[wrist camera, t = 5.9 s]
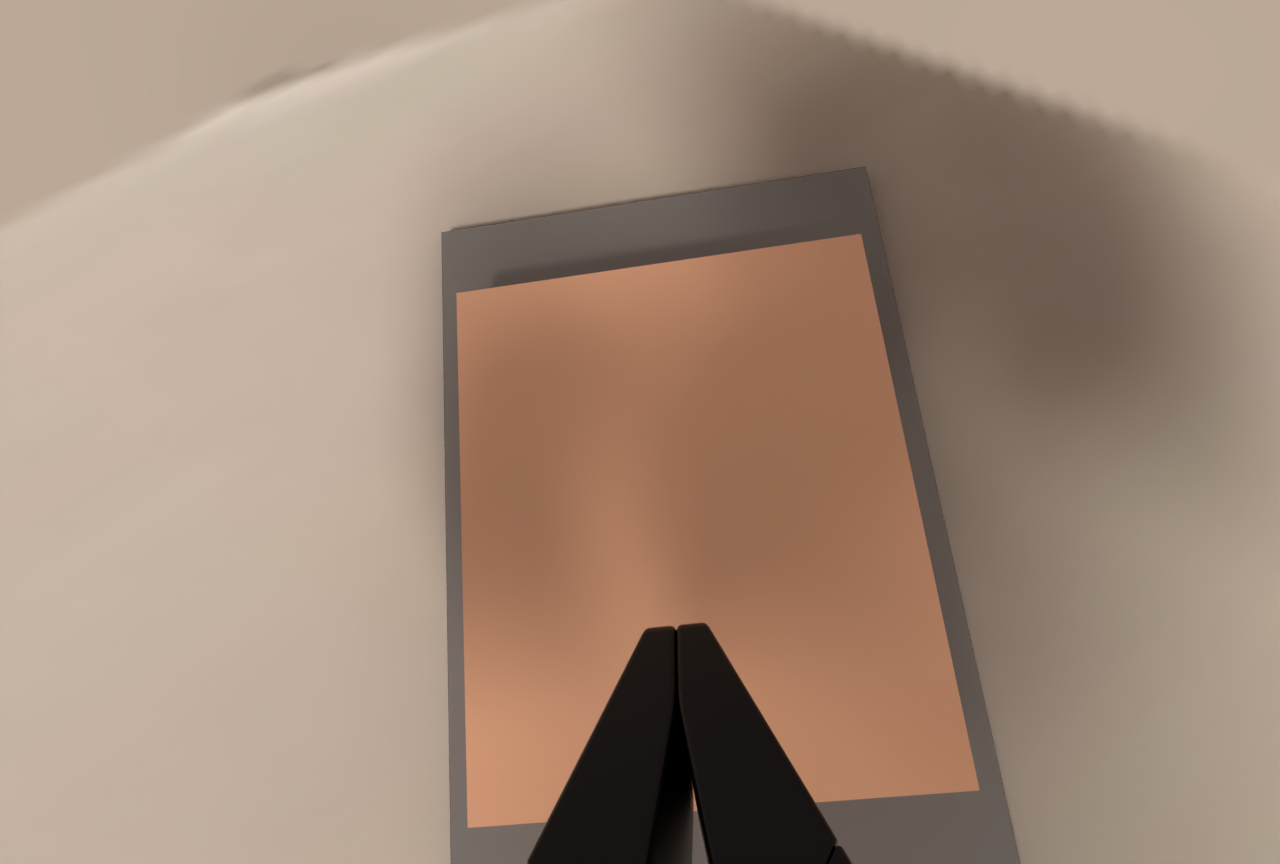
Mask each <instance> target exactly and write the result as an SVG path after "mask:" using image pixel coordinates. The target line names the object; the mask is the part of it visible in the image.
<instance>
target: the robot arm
mask: <svg viewBox="0 0 1280 864" xmlns="http://www.w3.org/2000/svg"><path fill="white" fill-rule="evenodd" d="M693 790H694V795H693ZM694 796H695V801H696V806H697V812H698V817H699V822H700V827H701V832H702V837H703V842H704V847H705V852H706V857H707V863H708V864H853V863H852V862H851V860H850V858H849V857H848V855H847V853H846V852H845V850H844V849H843V847H842V846H838V839H837V838H836V836H835V834H834V833H833V831H832V829H831V828H830V826H829V824H828V823H827V821H826V819H825V818H824V816H823V814H822V813H821V811H820V809H819V808H818V806H817V804H816V803H815V801H814V799H813V798H812V796H811V795H810V793H809V791H808V790H807V788H806V786H805V785H804V783H803V781H802V780H801V778H800V776H799V775H798V773H797V771H796V770H795V768H794V766H793V765H792V763H791V761H790V760H789V758H788V756H787V755H786V753H785V751H784V750H783V748H782V746H781V745H780V743H779V741H778V740H777V738H776V737H775V735H774V733H773V732H772V730H771V728H770V727H769V725H768V723H767V722H766V720H765V718H764V717H763V715H762V713H761V712H760V710H759V708H758V707H757V705H756V703H755V702H754V700H753V698H752V697H751V695H750V693H749V692H748V690H747V688H746V687H745V685H744V684H743V682H742V680H741V679H740V677H739V675H738V674H737V672H736V670H735V669H734V667H733V665H732V664H731V662H730V660H729V659H728V657H727V655H726V654H725V652H724V650H723V649H722V647H721V645H720V644H719V642H718V640H717V639H716V637H715V635H714V634H713V632H712V631H711V629H710V627H709V626H708V625H707V624H706V623H692V624H682V625H679V626H678V627H677V630H676V629H675V628H674V627H673V626H662V627H652V628H647V629H646V630H645V631H644V632H643V634H642V635H641V637H640V639H639V641H638V643H637V645H636V647H635V649H634V651H633V653H632V655H631V657H630V659H629V661H628V663H627V665H626V667H625V669H624V671H623V673H622V675H621V677H620V679H619V681H618V683H617V684H616V686H615V688H614V690H613V692H612V694H611V696H610V698H609V700H608V702H607V704H606V706H605V708H604V710H603V712H602V714H601V716H600V718H599V720H598V722H597V724H596V726H595V728H594V730H593V732H592V734H591V736H590V738H589V740H588V741H587V743H586V745H585V747H584V749H583V751H582V753H581V755H580V757H579V759H578V761H577V763H576V765H575V767H574V769H573V771H572V773H571V775H570V777H569V779H568V781H567V783H566V785H565V787H564V789H563V791H562V793H561V795H560V796H559V798H558V800H557V802H556V804H555V806H554V808H553V810H552V812H551V814H550V816H549V818H548V820H547V822H546V824H545V826H544V828H543V830H542V832H541V834H540V836H539V838H538V840H537V842H536V844H535V846H534V848H533V850H532V852H531V853H530V855H529V857H528V859H527V864H692V848H693V817H694Z"/></svg>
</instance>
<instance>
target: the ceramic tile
mask: <svg viewBox="0 0 1280 864" xmlns="http://www.w3.org/2000/svg"><path fill="white" fill-rule="evenodd" d="M456 296H457V344H458V391H459V439H460V487H461V535H462V582H463V630H464V678H465V725H466V773H467V821H468V828H473V827H487V826H501V825H514V824H528V823H542V822H547V820H548V818H549V816H550V814H551V812H552V810H553V808H554V806H555V804H556V802H557V800H558V798H559V796H560V795H561V793H562V791H563V789H564V787H565V785H566V783H567V781H568V779H569V777H570V775H571V773H572V771H573V769H574V767H575V765H576V763H577V761H578V759H579V757H580V755H581V753H582V751H583V749H584V747H585V745H586V743H587V741H588V740H589V738H590V736H591V734H592V732H593V730H594V728H595V726H596V724H597V722H598V720H599V718H600V716H601V714H602V712H603V710H604V708H605V706H606V704H607V702H608V700H609V698H610V696H611V694H612V692H613V690H614V688H615V686H616V684H617V683H618V681H619V679H620V677H621V675H622V673H623V671H624V669H625V667H626V665H627V663H628V661H629V659H630V657H631V655H632V653H633V651H634V649H635V647H636V645H637V643H638V641H639V639H640V637H641V635H642V634H643V632H644V631H645V630H646V629H647V628H652V627H662V626H673V627H674V628H675V629H676V630H677V627H678V626H679V625H682V624H692V623H706V624H707V625H708V626H709V627H710V629H711V631H712V632H713V634H714V635H715V637H716V639H717V640H718V642H719V644H720V645H721V647H722V649H723V650H724V652H725V654H726V655H727V657H728V659H729V660H730V662H731V664H732V665H733V667H734V669H735V670H736V672H737V674H738V675H739V677H740V679H741V680H742V682H743V684H744V685H745V687H746V688H747V690H748V692H749V693H750V695H751V697H752V698H753V700H754V702H755V703H756V705H757V707H758V708H759V710H760V712H761V713H762V715H763V717H764V718H765V720H766V722H767V723H768V725H769V727H770V728H771V730H772V732H773V733H774V735H775V737H776V738H777V740H778V741H779V743H780V745H781V746H782V748H783V750H784V751H785V753H786V755H787V756H788V758H789V760H790V761H791V763H792V765H793V766H794V768H795V770H796V771H797V773H798V775H799V776H800V778H801V780H802V781H803V783H804V785H805V786H806V788H807V790H808V791H809V793H810V795H811V796H812V798H813V799H814V801H815V802H829V801H843V800H856V799H870V798H884V797H897V796H911V795H925V794H939V793H952V792H966V791H980V790H979V785H978V780H977V776H976V771H975V766H974V761H973V757H972V752H971V747H970V743H969V738H968V733H967V729H966V724H965V719H964V715H963V710H962V705H961V700H960V696H959V691H958V686H957V682H956V677H955V672H954V668H953V663H952V658H951V654H950V649H949V644H948V639H947V635H946V630H945V625H944V621H943V616H942V611H941V607H940V602H939V597H938V593H937V588H936V583H935V578H934V574H933V569H932V564H931V560H930V555H929V550H928V546H927V541H926V536H925V532H924V527H923V522H922V517H921V513H920V508H919V503H918V499H917V494H916V489H915V485H914V480H913V475H912V471H911V466H910V461H909V457H908V452H907V447H906V442H905V438H904V433H903V428H902V424H901V419H900V414H899V410H898V405H897V400H896V396H895V391H894V386H893V381H892V377H891V372H890V367H889V363H888V358H887V353H886V349H885V344H884V339H883V335H882V330H881V325H880V320H879V316H878V311H877V306H876V302H875V297H874V292H873V288H872V283H871V278H870V274H869V269H868V264H867V259H866V255H865V250H864V245H863V241H862V236H861V234H856V235H849V236H842V237H835V238H829V239H822V240H815V241H808V242H801V243H795V244H788V245H781V246H774V247H767V248H760V249H754V250H747V251H740V252H733V253H726V254H720V255H713V256H706V257H699V258H692V259H685V260H679V261H672V262H665V263H658V264H651V265H645V266H638V267H631V268H624V269H617V270H610V271H604V272H597V273H590V274H583V275H576V276H570V277H563V278H556V279H549V280H542V281H535V282H529V283H522V284H515V285H508V286H501V287H495V288H488V289H481V290H474V291H467V292H460V293H456ZM693 795H694V790H693ZM694 811H697V806H696V801H695V796H694Z"/></svg>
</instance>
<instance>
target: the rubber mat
mask: <svg viewBox="0 0 1280 864" xmlns="http://www.w3.org/2000/svg"><path fill="white" fill-rule="evenodd" d="M856 234H861V236H862V241H863V245H864V250H865V255H866V259H867V264H868V269H869V274H870V278H871V283H872V288H873V292H874V297H875V302H876V306H877V311H878V316H879V320H880V325H881V330H882V335H883V339H884V344H885V349H886V353H887V358H888V363H889V367H890V372H891V377H892V381H893V386H894V391H895V396H896V400H897V405H898V410H899V414H900V419H901V424H902V428H903V433H904V438H905V442H906V447H907V452H908V457H909V461H910V466H911V471H912V475H913V480H914V485H915V489H916V494H917V499H918V503H919V508H920V513H921V517H922V522H923V527H924V532H925V536H926V541H927V546H928V550H929V555H930V560H931V564H932V569H933V574H934V578H935V583H936V588H937V593H938V597H939V602H940V607H941V611H942V616H943V621H944V625H945V630H946V635H947V639H948V644H949V649H950V654H951V658H952V663H953V668H954V672H955V677H956V682H957V686H958V691H959V696H960V700H961V705H962V710H963V715H964V719H965V724H966V729H967V733H968V738H969V743H970V747H971V752H972V757H973V761H974V766H975V771H976V776H977V780H978V785H979V790H980V791H966V792H952V793H939V794H925V795H911V796H897V797H884V798H870V799H856V800H843V801H829V802H815V803H816V804H817V806H818V808H819V809H820V811H821V813H822V814H823V816H824V818H825V819H826V821H827V823H828V824H829V826H830V828H831V829H832V831H833V833H834V834H835V836H836V838H837V839H838V846H842V847H843V849H844V850H845V852H846V853H847V855H848V857H849V858H850V860H851V862H852V863H853V864H1020V859H1019V855H1018V850H1017V846H1016V841H1015V837H1014V832H1013V828H1012V823H1011V819H1010V814H1009V810H1008V805H1007V801H1006V796H1005V792H1004V787H1003V783H1002V778H1001V774H1000V769H999V765H998V760H997V756H996V751H995V747H994V742H993V738H992V733H991V729H990V724H989V720H988V715H987V711H986V706H985V702H984V697H983V693H982V688H981V684H980V679H979V675H978V670H977V666H976V661H975V657H974V652H973V648H972V643H971V639H970V634H969V630H968V625H967V621H966V616H965V612H964V607H963V603H962V598H961V594H960V589H959V585H958V580H957V576H956V571H955V567H954V562H953V558H952V553H951V549H950V544H949V540H948V535H947V531H946V526H945V522H944V517H943V513H942V508H941V504H940V499H939V495H938V490H937V486H936V482H935V477H934V473H933V468H932V464H931V459H930V455H929V450H928V446H927V441H926V437H925V432H924V428H923V423H922V419H921V414H920V410H919V405H918V401H917V396H916V392H915V387H914V383H913V378H912V374H911V369H910V365H909V360H908V356H907V351H906V347H905V342H904V338H903V333H902V329H901V324H900V320H899V315H898V311H897V306H896V302H895V297H894V293H893V288H892V284H891V279H890V275H889V270H888V266H887V261H886V257H885V252H884V248H883V243H882V239H881V234H880V230H879V225H878V221H877V216H876V212H875V207H874V203H873V198H872V194H871V189H870V185H869V180H868V176H867V171H866V167H860V168H853V169H847V170H840V171H834V172H827V173H821V174H815V175H808V176H802V177H795V178H789V179H782V180H776V181H769V182H763V183H757V184H750V185H744V186H737V187H731V188H724V189H718V190H712V191H705V192H699V193H692V194H686V195H679V196H673V197H666V198H660V199H654V200H647V201H641V202H634V203H628V204H621V205H615V206H609V207H602V208H596V209H589V210H583V211H576V212H570V213H563V214H557V215H551V216H544V217H538V218H531V219H525V220H518V221H512V222H506V223H499V224H493V225H486V226H480V227H473V228H467V229H460V230H454V231H448V232H442V296H443V365H444V434H445V503H446V572H447V641H448V710H449V778H450V847H451V864H527V859H528V857H529V855H530V853H531V852H532V850H533V848H534V846H535V844H536V842H537V840H538V838H539V836H540V834H541V832H542V830H543V828H544V826H545V824H546V822H542V823H528V824H514V825H501V826H487V827H473V828H468V821H467V773H466V725H465V678H464V630H463V582H462V535H461V487H460V439H459V391H458V344H457V296H456V293H460V292H467V291H474V290H481V289H488V288H495V287H501V286H508V285H515V284H522V283H529V282H535V281H542V280H549V279H556V278H563V277H570V276H576V275H583V274H590V273H597V272H604V271H610V270H617V269H624V268H631V267H638V266H645V265H651V264H658V263H665V262H672V261H679V260H685V259H692V258H699V257H706V256H713V255H720V254H726V253H733V252H740V251H747V250H754V249H760V248H767V247H774V246H781V245H788V244H795V243H801V242H808V241H815V240H822V239H829V238H835V237H842V236H849V235H856ZM692 864H708V863H707V857H706V852H705V847H704V842H703V837H702V832H701V827H700V822H699V817H698V812H697V811H694V817H693V848H692Z"/></svg>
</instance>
